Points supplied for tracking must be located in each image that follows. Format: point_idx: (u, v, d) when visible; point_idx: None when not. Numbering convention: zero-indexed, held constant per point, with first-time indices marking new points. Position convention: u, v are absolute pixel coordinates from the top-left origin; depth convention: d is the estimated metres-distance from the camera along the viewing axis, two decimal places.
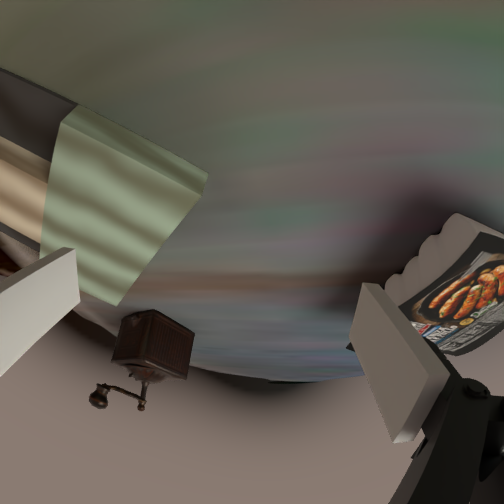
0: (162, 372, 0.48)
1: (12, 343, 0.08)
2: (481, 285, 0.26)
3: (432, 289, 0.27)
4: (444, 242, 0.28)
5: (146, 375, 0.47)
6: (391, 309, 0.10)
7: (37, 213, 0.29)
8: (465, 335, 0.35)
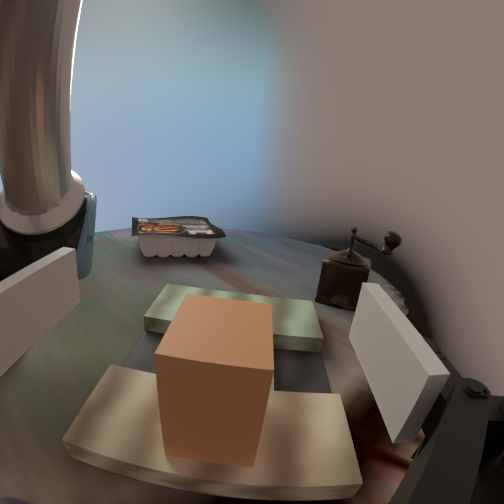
0: (329, 255, 0.68)
1: (12, 343, 0.08)
2: (154, 229, 0.84)
3: (163, 233, 0.79)
4: (154, 249, 0.81)
5: (339, 253, 0.66)
6: (391, 309, 0.10)
7: None
8: (187, 221, 0.96)
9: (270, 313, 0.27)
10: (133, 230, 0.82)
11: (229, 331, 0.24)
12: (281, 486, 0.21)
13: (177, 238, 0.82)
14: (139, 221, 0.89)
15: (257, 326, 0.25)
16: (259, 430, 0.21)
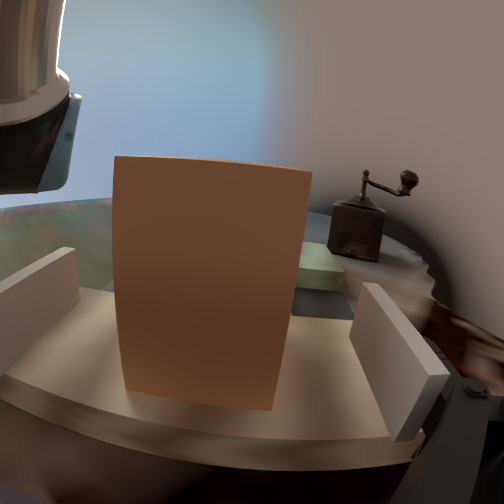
0: (340, 201, 0.60)
1: (12, 343, 0.08)
2: None
3: None
4: None
5: (350, 198, 0.58)
6: (391, 309, 0.10)
7: None
8: None
9: (290, 167, 0.19)
10: None
11: None
12: (321, 440, 0.13)
13: None
14: None
15: None
16: (285, 320, 0.14)
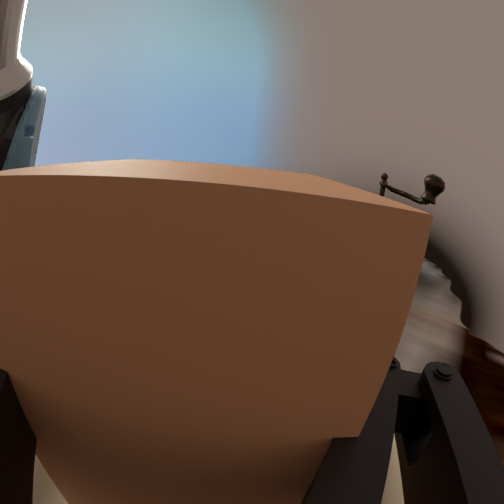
0: None
1: None
2: None
3: None
4: None
5: None
6: None
7: None
8: None
9: (321, 177, 0.11)
10: None
11: (224, 169, 0.08)
12: None
13: None
14: None
15: (300, 176, 0.09)
16: None
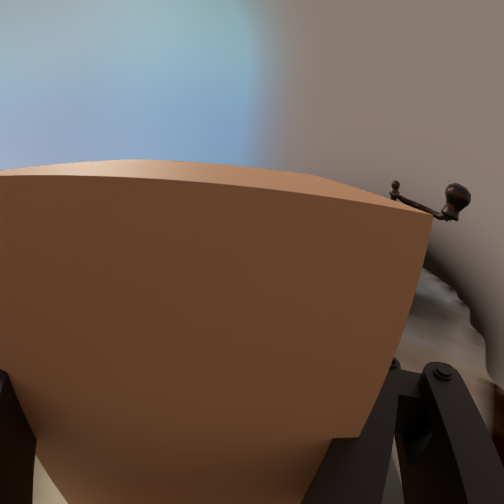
0: None
1: None
2: None
3: None
4: None
5: None
6: None
7: None
8: None
9: (321, 177, 0.11)
10: None
11: (224, 169, 0.08)
12: None
13: None
14: None
15: (300, 176, 0.09)
16: None
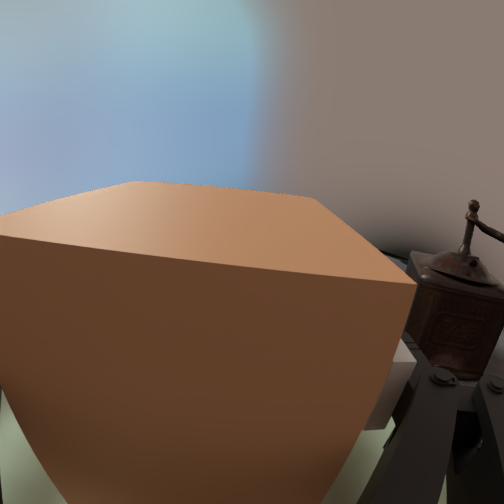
0: (423, 261, 0.28)
1: None
2: None
3: None
4: None
5: (447, 258, 0.25)
6: None
7: None
8: None
9: (317, 203, 0.12)
10: None
11: (220, 208, 0.08)
12: None
13: None
14: None
15: (295, 209, 0.09)
16: None
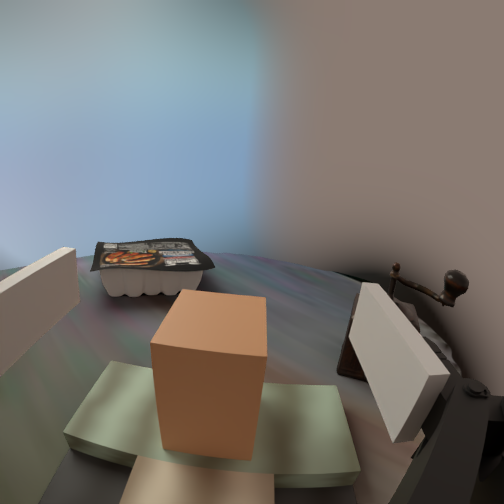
0: None
1: (12, 343, 0.08)
2: (121, 259, 0.62)
3: (131, 267, 0.58)
4: (121, 286, 0.59)
5: None
6: (391, 309, 0.10)
7: (199, 474, 0.21)
8: (165, 246, 0.74)
9: (264, 305, 0.28)
10: (95, 261, 0.60)
11: (224, 322, 0.24)
12: None
13: (150, 272, 0.61)
14: (104, 248, 0.67)
15: (251, 317, 0.26)
16: (255, 420, 0.22)
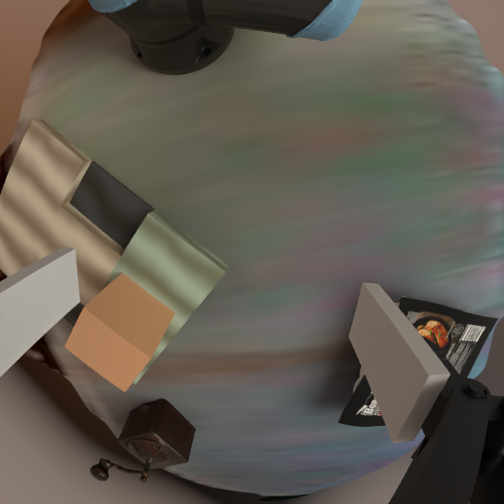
0: (167, 449, 0.47)
1: (12, 343, 0.08)
2: None
3: None
4: None
5: (151, 450, 0.46)
6: (391, 309, 0.10)
7: (100, 280, 0.45)
8: None
9: (113, 383, 0.36)
10: (436, 306, 0.41)
11: (98, 352, 0.34)
12: None
13: None
14: (466, 325, 0.41)
15: (100, 367, 0.35)
16: None
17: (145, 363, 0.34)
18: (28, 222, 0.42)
